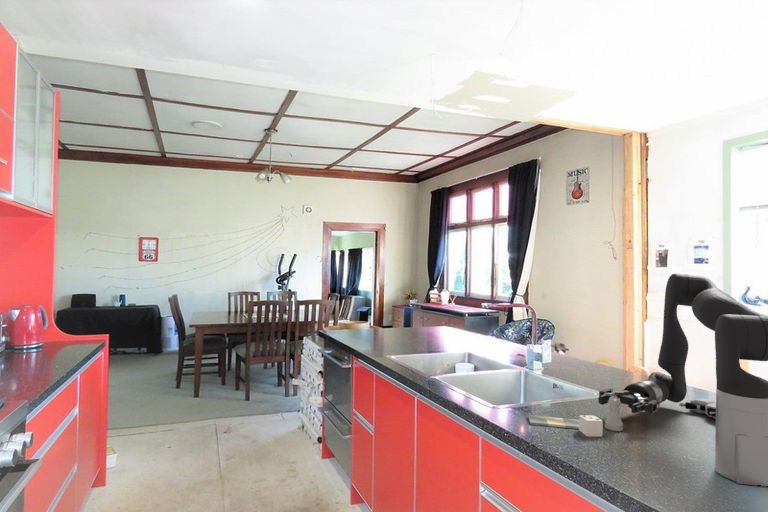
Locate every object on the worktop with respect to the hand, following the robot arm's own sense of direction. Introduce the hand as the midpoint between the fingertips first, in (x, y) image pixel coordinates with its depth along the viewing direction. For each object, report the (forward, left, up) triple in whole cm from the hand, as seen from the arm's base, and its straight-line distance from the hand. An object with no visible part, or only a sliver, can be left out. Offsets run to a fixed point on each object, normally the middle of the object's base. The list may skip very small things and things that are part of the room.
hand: (616, 404), depth 123 cm
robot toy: (+19, -32, -6) cm, 38 cm away
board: (-1, +13, -6) cm, 15 cm away
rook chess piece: (-1, +1, -6) cm, 6 cm away
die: (-6, +8, -6) cm, 12 cm away
